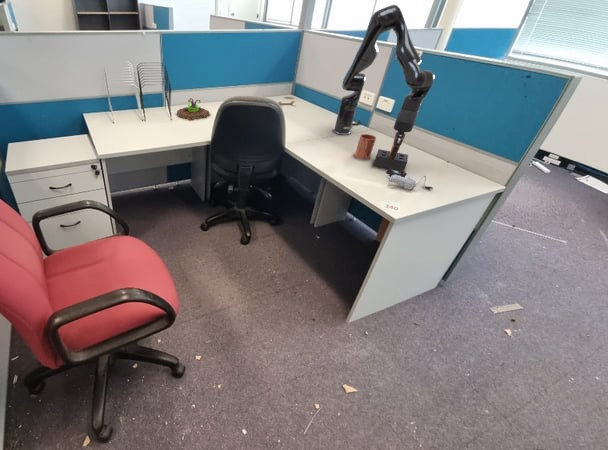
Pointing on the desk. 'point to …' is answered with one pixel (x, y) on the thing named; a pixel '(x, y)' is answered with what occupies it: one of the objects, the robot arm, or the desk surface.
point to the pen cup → (365, 146)
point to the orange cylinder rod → (391, 151)
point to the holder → (390, 161)
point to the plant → (192, 111)
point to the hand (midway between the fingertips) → (392, 155)
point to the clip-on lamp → (403, 179)
